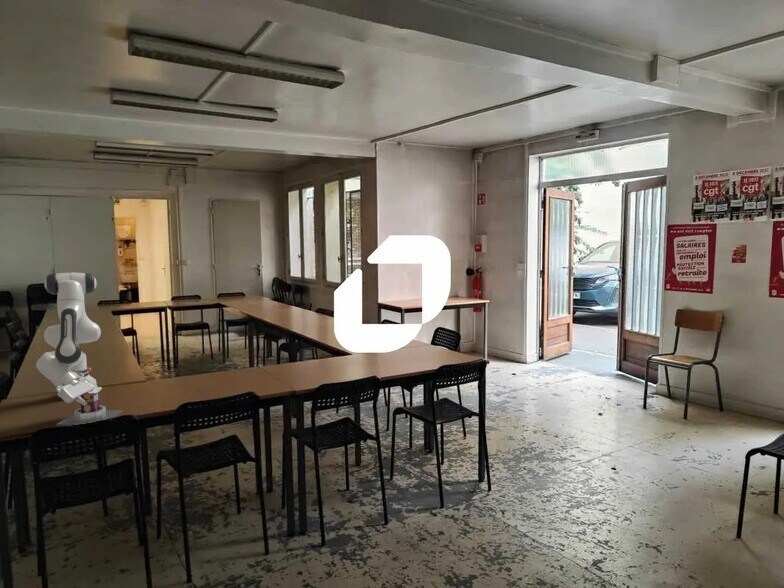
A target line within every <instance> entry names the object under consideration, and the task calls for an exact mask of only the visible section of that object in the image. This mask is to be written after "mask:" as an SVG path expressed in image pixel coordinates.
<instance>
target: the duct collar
mask: <svg viewBox="0 0 784 588" xmlns="http://www.w3.org/2000/svg"><path fill="white" fill-rule="evenodd" d="M123 412H124V411H123V409H107V407H106V405H105V406H104V405H101V404H100V405H99V411H95V412H89V413H81V407H79V408H77V409H75V410H74V413H73V414H71V415H69V416H68V417H66V418H64V419H62V420H61V421H59V422H57V423H55V427H72V426H71V425H79V424H86V423H92V422H96V421H100V420H106V419H109V418H113V417H114V418H117V416H119V415H121V414H123ZM114 418H113V419H114Z"/></svg>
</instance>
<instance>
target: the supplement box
mask: <svg viewBox="0 0 784 588" xmlns="http://www.w3.org/2000/svg"><path fill="white" fill-rule="evenodd" d="M81 397H82V399H83V400H86V401H88V404H87V405H85V406H84V405H83V404H81V403H80V408H81V413H89V412H95V411H99V403H100V401H99V392H98V393H85V394H83V395H81Z"/></svg>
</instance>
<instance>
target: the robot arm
mask: <svg viewBox="0 0 784 588" xmlns="http://www.w3.org/2000/svg"><path fill="white" fill-rule="evenodd" d="M97 284H98V283H97V279H96V277H95V275H94V274H92V273H89V272H85V273H84V272H76V271H75V272H72V271H71V272H60V273H58V272H57V273H56V272H54V273H49V274H48V275H46V277H45V280H44V288H45V290H46V292H47V293H49V294H51V295H55V296H56V295H57V298H56V299H57V300H56V308H57V315H58V319H59V321H60V324H54V325H51V326H47V328H46V329H45V330H44V332H43V337H44V341H45V342H46V343H47V345H49V346H51V347H53V348H54V349H55V350H54V351H45V352H44V353H42V354H41V355H40V356H39V357H38V358H37V361H36V363H35V366H36V369H37V370H38V371H39V372H40V373H41V374H42V375H43V376H44V377H45V378H46V379H48V380H50V381H51V382H52V384H53V385H54V386H55V391H57V397H59V398H60V399H62V400H63V401H64V403H67V404H71V403H73V402H74V401H75V402H77V403H79V404H80V405H81V404H83V405H84V406H85V405H87V404H88V401H86V400H83V399H82V397H81V395H83V394H85V393H98V394H99V392H100V391H101V390H103V388H102V387H101V386H98V385H97V384H98V383H97V380H96V379H95V378H94V377H93V376H91V375H90V372H91V371H92V367H87V366H88V364H87V355H86V353H85V352H83V351H82V349H81V346H80V344H89V343H92V342H97V341H98V340H99V339H100V337H101V334H102V331H101V328H100V326H99V325H98V324H97V323H96V322H94V321H92V320H91V319H90V318H89V316H88V315H87V313H86V305H85V304H86V303H85V295H87V294H92V293H94V292H95V289H96V288H97Z"/></svg>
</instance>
